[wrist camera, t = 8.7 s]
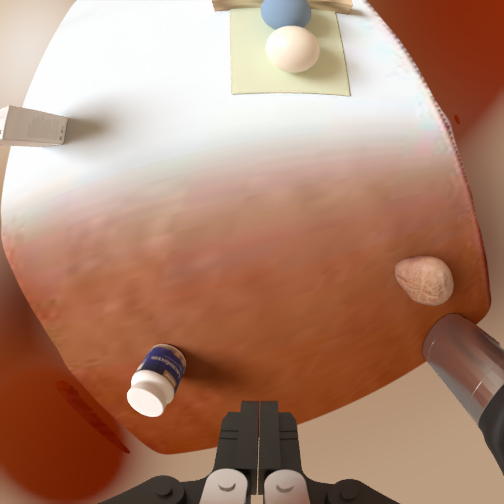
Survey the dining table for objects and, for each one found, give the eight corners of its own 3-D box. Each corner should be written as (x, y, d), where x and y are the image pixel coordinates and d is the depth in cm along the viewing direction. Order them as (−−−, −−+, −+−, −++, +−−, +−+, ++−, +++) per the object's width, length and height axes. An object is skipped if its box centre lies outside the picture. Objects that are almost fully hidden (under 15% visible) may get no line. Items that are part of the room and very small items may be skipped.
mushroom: (428, 287, 32) (460, 309, 24) (392, 304, 33) (420, 331, 25) (420, 237, 31) (456, 250, 23) (383, 252, 31) (414, 271, 24)
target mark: (334, 12, 24) (334, 11, 24) (349, 96, 27) (349, 95, 27) (230, 9, 25) (229, 9, 24) (231, 94, 28) (231, 93, 28)
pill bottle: (193, 356, 35) (175, 403, 26) (177, 380, 36) (158, 426, 27) (157, 335, 35) (129, 377, 25) (144, 360, 36) (117, 403, 26)
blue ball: (306, -10, 21) (317, -5, 18) (305, 27, 26) (314, 38, 23) (258, -11, 21) (260, -7, 18) (260, 26, 26) (262, 37, 24)
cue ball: (311, 33, 24) (322, 20, 19) (316, 75, 27) (328, 69, 22) (263, 34, 25) (263, 19, 20) (267, 76, 28) (269, 69, 23)
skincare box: (69, 116, 28) (11, 101, 16) (63, 146, 29) (3, 139, 18) (42, 121, 28) (-13, 111, 17) (38, 149, 29) (-19, 145, 18)
